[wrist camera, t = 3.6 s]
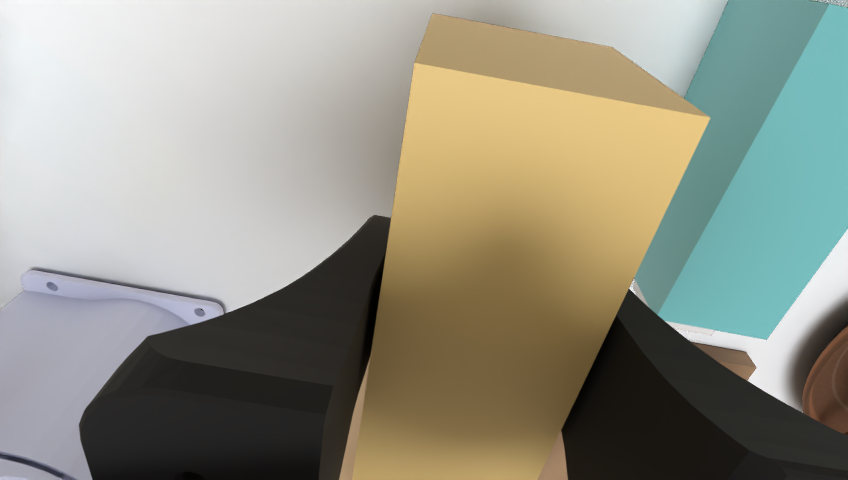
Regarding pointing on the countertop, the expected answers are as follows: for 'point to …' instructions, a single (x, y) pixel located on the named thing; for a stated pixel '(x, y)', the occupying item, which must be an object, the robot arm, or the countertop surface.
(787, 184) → the teal plug block
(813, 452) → the robot arm
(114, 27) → the countertop surface
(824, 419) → the cup and saucer
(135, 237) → the countertop surface
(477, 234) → the ochre plug block
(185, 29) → the countertop surface
